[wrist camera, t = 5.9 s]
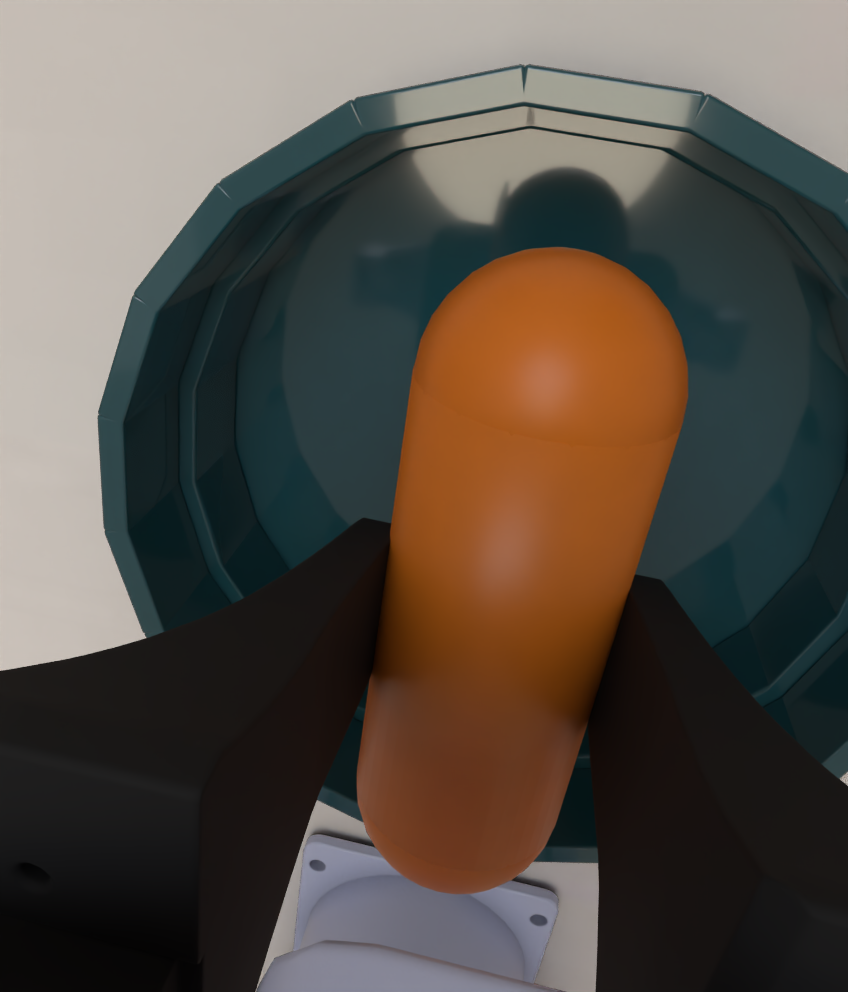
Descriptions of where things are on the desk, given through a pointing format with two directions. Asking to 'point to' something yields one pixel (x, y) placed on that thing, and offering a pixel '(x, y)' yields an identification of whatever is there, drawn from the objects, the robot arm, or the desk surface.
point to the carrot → (512, 555)
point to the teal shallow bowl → (406, 313)
